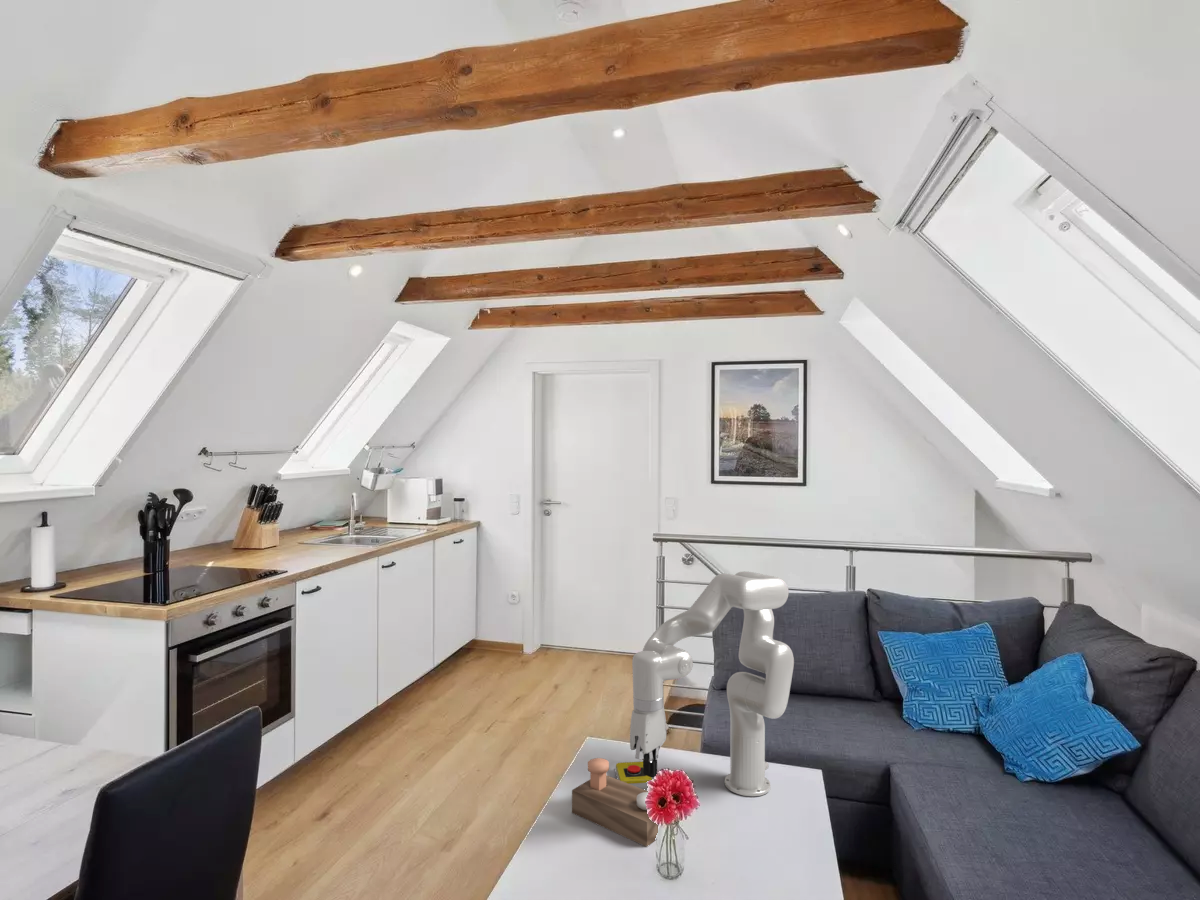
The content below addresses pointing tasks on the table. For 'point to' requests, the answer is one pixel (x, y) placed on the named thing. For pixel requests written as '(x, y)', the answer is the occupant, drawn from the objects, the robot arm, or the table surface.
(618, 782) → the press console
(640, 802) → the white glossy ovoid
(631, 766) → the emergency button
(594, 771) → the peach round knob
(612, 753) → the table surface
